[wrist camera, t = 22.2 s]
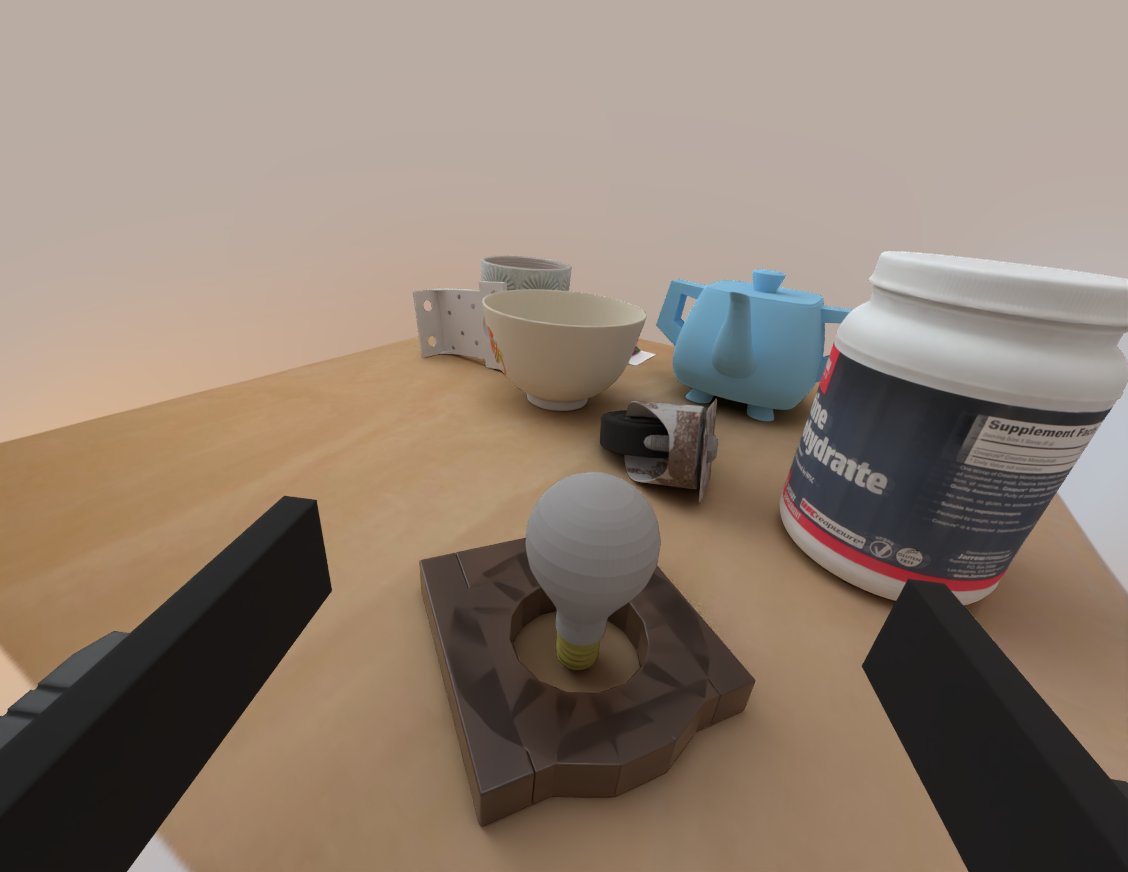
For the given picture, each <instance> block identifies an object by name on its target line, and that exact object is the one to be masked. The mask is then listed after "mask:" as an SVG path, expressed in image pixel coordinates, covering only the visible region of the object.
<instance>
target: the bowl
mask: <svg viewBox="0 0 1128 872" xmlns="http://www.w3.org/2000/svg"><path fill="white" fill-rule="evenodd" d="M482 305H483V311H484V316H485V321H486V326H487V331H488V335H489V339H490V343H491V348H492V351H493V354H494V357H495V360H496V362H497V364H498V366H499V367H500V369H501V370H502V372H503V373H504V374H505V376H506V377H507V378H508V379H509V380H510V381H511V382H512V383H513V384H514V385H515V386H517V387H518V388H519V389H521V390H522V391H524V392H526V393H527V399H528V400H529V401H530V402H531V403H532V404H533V405H535V406H537V407H540V408H543V409H547V410H552V411H572V410H576V409H579V408H581V407H583V406H584V405H585V404H586V403H587V401H588V398H590V397H593V396H595V395H597V394H599V393H601V392H602V391H604V390H605V389H607V388H608V387H610V386H611V385H612V384H613V383H614V382H615V381H616V380H617V379H618V378H619V377H620V376H621V374H622V373H623V371H624V370H625V368H626V366H627V364H628V363H629V360H630V358H631V356H632V354H633V351H634V349H635V346H636V344H637V341H638V338H639V336H640V333H641V330H642V328H643V326H644V323H645V320H646V313H645V312H644V311H643V310H642V309H641V308H639V307H637V306H635V305H633V304H630V303H627V302H624V301H621V300H617V299H613V298H609V297H604V296H599V295H594V294H587V293H580V292H572V291H561V290H539V289H528V290H510V291H502V292H497V293H493V294H490V295H488V296H486V297H485V298H483V300H482Z"/></svg>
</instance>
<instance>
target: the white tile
mask: <svg viewBox="0 0 1128 872" xmlns="http://www.w3.org/2000/svg"><path fill="white" fill-rule="evenodd" d="M654 355H656V354H652V353H648V352H643V351H640V349H639V348H637V347H636V346H635V349H634V351H633V354H632V356H631V358H630V360H629V363H628V364H632V365H636V366H637V365H638V364H640V363H642V362H644V361H645V360H647V359H649V358H650V357H652V356H654Z"/></svg>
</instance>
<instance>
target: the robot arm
mask: <svg viewBox="0 0 1128 872" xmlns="http://www.w3.org/2000/svg"><path fill="white" fill-rule="evenodd" d="M331 591H332V588H331V582H330V576H329V570H328V564H327V558H326V553H325V547H324V541H323V535H322V529H321V523H320V517H319V512H318V506H317V500H312V499H304V498H297V497H289V496H284V497H282V498H281V499H280V500H279V501H278V502H277V503H276V504H275V505H273V506H272V507H271V508H270V509H269V510H268V511H267V512H266V513H264V514H263V515H262V516H261V517H260V518H259V519H258V520H257V521H255V522H254V523H253V524H252V525H251V526H250V527H249V528H248V529H247V530H245V531H244V532H243V533H242V534H241V535H240V536H239V537H238V538H236V539H235V540H234V541H233V542H232V543H231V544H230V545H229V546H227V547H226V548H225V549H224V550H223V551H222V552H221V553H220V554H218V555H217V556H216V557H215V558H214V559H213V560H212V561H211V562H209V563H208V564H207V565H206V566H205V567H204V568H203V569H202V570H201V571H199V572H198V573H197V574H196V575H195V576H194V577H193V578H192V579H190V580H189V581H188V582H187V583H186V584H185V585H184V586H183V587H181V588H180V589H179V590H178V591H177V592H176V593H175V594H174V595H172V596H171V597H170V598H169V599H168V600H167V601H166V602H165V603H164V604H162V605H161V606H160V607H159V608H158V609H157V610H156V611H155V612H153V613H152V614H151V615H150V616H149V617H148V618H147V619H146V620H144V621H143V622H142V623H141V624H140V625H139V626H138V627H137V628H135V629H134V630H133V631H132V632H131V633H124V632H118V631H113V632H111V633H110V634H108V635H106V636H104V637H103V638H101V639H99V640H97V641H96V642H94V643H92V644H90V645H89V646H87V647H85V648H83V649H81V650H80V651H78V652H76V653H74V654H73V655H72V656H71V657H69V658H68V659H67V660H66V661H65V662H63V663H62V664H61V665H60V666H59V667H57V668H56V669H55V670H54V671H53V672H51V673H50V674H49V675H48V676H47V677H45V678H44V679H43V680H42V681H41V682H39V683H38V687H37V688H36V689H35V690H30V691H29V692H28V693H26V694H25V695H24V696H23V697H22V698H20V699H19V700H18V701H17V702H16V703H14V704H13V705H12V706H11V707H10V708H8V712H7V713H6V714H5V715H4V716H0V872H127V871H128V870H129V868H130V867H131V865H132V864H133V863H134V861H135V860H136V859H137V857H138V856H139V854H140V853H141V852H142V850H143V849H144V848H145V846H146V845H147V843H148V842H149V841H150V839H151V838H152V837H153V835H154V834H155V833H156V831H157V830H158V828H159V827H160V826H161V824H162V823H163V822H164V820H165V819H166V817H167V816H168V815H169V813H170V812H171V811H172V809H173V808H174V806H175V805H176V804H177V802H178V801H179V800H180V798H181V797H182V796H183V794H184V793H185V791H186V790H187V789H188V787H189V786H190V785H191V783H192V782H193V780H194V779H195V778H196V776H197V775H198V774H199V772H200V771H201V769H202V768H203V767H204V765H205V764H206V763H207V761H208V760H209V759H210V757H211V756H212V754H213V753H214V752H215V750H216V749H217V748H218V746H219V745H220V743H221V742H222V741H223V739H224V738H225V737H226V735H227V734H228V732H229V731H230V730H231V728H232V727H233V726H234V724H235V723H236V721H237V720H238V719H239V717H240V716H241V715H242V713H243V712H244V711H245V709H246V708H247V706H248V705H249V704H250V702H251V701H252V700H253V698H254V697H255V695H256V694H257V693H258V691H259V690H260V689H261V687H262V686H263V684H264V683H265V682H266V680H267V679H268V678H269V676H270V675H271V674H272V672H273V671H274V669H275V668H276V667H277V665H278V664H279V663H280V661H281V660H282V658H283V657H284V656H285V654H286V653H287V652H288V650H289V649H290V647H291V646H292V645H293V643H294V642H295V641H296V639H297V638H298V637H299V635H300V634H301V632H302V631H303V630H304V628H305V627H306V626H307V624H308V623H309V621H310V620H311V619H312V617H313V616H314V615H315V613H316V612H317V610H318V609H319V608H320V606H321V605H322V604H323V602H324V601H325V599H326V598H327V597H328V595H329V594H330V593H331ZM862 668H863V669H864V671H865V673H866V675H867V677H868V679H869V681H870V683H871V685H872V687H873V689H874V691H875V693H876V694H877V696H878V698H879V700H880V702H881V704H882V706H883V708H884V710H885V712H886V714H887V716H888V718H889V719H890V721H891V723H892V725H893V727H894V729H895V731H896V733H897V735H898V737H899V739H900V741H901V743H902V744H903V746H904V748H905V750H906V752H907V754H908V756H909V758H910V760H911V762H912V764H913V766H914V768H915V769H916V771H917V773H918V775H919V777H920V779H921V781H922V783H923V785H924V787H925V789H926V791H927V793H928V794H929V796H930V798H931V800H932V802H933V804H934V806H935V808H936V810H937V812H938V814H939V816H940V818H941V820H942V821H943V823H944V825H945V827H946V829H947V831H948V833H949V835H950V837H951V839H952V841H953V843H954V845H955V846H956V848H957V850H958V852H959V854H960V856H961V858H962V860H963V862H964V864H965V866H966V868H967V870H968V871H969V872H1128V783H1127V782H1126V781H1119V780H1113V779H1110V778H1109V777H1108V775H1107V774H1106V773H1105V772H1104V771H1103V770H1102V768H1101V767H1100V766H1099V765H1098V764H1097V762H1096V761H1095V760H1094V759H1093V758H1092V757H1091V755H1090V754H1089V753H1088V752H1087V751H1086V750H1085V748H1084V747H1083V746H1082V745H1081V744H1080V742H1079V741H1078V740H1077V739H1076V738H1075V737H1074V735H1073V734H1072V733H1071V732H1070V731H1069V729H1068V728H1067V727H1066V726H1065V725H1064V724H1063V722H1062V721H1061V720H1060V719H1059V718H1058V716H1057V715H1056V714H1055V713H1054V712H1053V711H1052V709H1051V708H1050V707H1049V706H1048V705H1047V703H1046V702H1045V701H1044V700H1043V699H1042V698H1041V696H1040V695H1039V694H1038V693H1037V692H1036V690H1035V689H1034V688H1033V687H1032V686H1031V685H1030V683H1029V682H1028V681H1027V680H1026V679H1025V677H1024V676H1023V675H1022V674H1021V673H1020V672H1019V670H1018V669H1017V668H1016V667H1015V666H1014V664H1013V663H1012V662H1011V661H1010V660H1009V659H1008V657H1007V656H1006V655H1005V654H1004V653H1003V651H1002V650H1001V649H1000V648H999V647H998V646H997V644H996V643H995V642H994V641H993V640H992V638H991V637H990V636H989V635H988V634H987V633H986V631H985V630H984V629H983V628H982V627H981V626H980V624H979V623H978V622H977V621H976V620H975V618H974V617H973V616H972V615H971V614H970V613H969V611H968V610H967V609H966V608H965V607H964V605H963V604H962V603H961V602H960V601H959V600H958V598H957V597H956V596H955V595H954V594H953V592H952V591H951V590H950V589H949V588H948V587H947V585H946V584H945V583H937V582H930V581H922V580H915V579H908V580H907V581H906V583H905V585H904V587H903V589H902V591H901V593H900V595H899V597H898V599H897V600H896V602H895V604H894V606H893V608H892V610H891V612H890V614H889V616H888V617H887V619H886V621H885V623H884V625H883V627H882V629H881V631H880V633H879V634H878V636H877V638H876V640H875V642H874V644H873V646H872V648H871V650H870V651H869V653H868V655H867V657H866V659H865V661H864V663H863V665H862Z"/></svg>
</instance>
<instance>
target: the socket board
mask: <svg viewBox="0 0 1128 872" xmlns="http://www.w3.org/2000/svg"><path fill="white" fill-rule="evenodd" d="M419 564H420V580H421V590H422V594H423V598H424V602H425V606H426V611H427V615H428V619H429V623H430V627H431V631H432V635H433V639H434V643H435V647H436V651H437V655H438V659H439V663H440V667H441V671H442V675H443V679H444V683H445V688H446V692H447V696H448V700H449V704H450V708H451V712H452V716H453V720H454V724H455V728H456V732H457V736H458V740H459V744H460V748H461V752H462V756H463V760H464V765H465V769H466V773H467V777H468V781H469V785H470V789H471V793H472V797H473V801H474V805H475V809H476V813H477V817H478V821H479V824H480V826H483V825H486V824H488V823H490V822H492V821H495V820H497V819H499V818H502V817H504V816H506V815H508V814H511V813H513V812H515V811H517V810H520V809H522V808H524V807H526V806H529V805H530V804H531V803H532V804H534V803H537V802H539V801H541V800H543V799H546V798H548V797H550V796H593V797H613V796H614V797H615V796H617V795H619V794H622V793H624V792H626V791H628V790H630V789H632V788H634V787H636V786H638V785H641V784H643V783H645V782H647V781H649V780H651V779H653V778H655V777H658V776H660V775H662V774H664V773H666V771H668V769H669V768H670V767H671V765H672V764H673V763H674V761H675V760H676V758H677V757H678V756H679V754H680V753H681V752H682V750H683V749H684V747H685V746H686V745H687V743H688V742H689V741H690V739H691V738H692V737H693V735H694V734H695V732H696V731H698V730H701V729H703V728H705V727H707V726H709V725H712V724H714V723H716V722H719V721H721V720H723V719H725V718H728V717H730V716H732V715H734V714H737V713H739V712H741V711H743V710H744V709H745V707H746V704H747V701H748V699H749V696H750V694H751V691H752V689H753V686H754V684H755V679H754V678H753V677H752V676H751V675H750V673H749V672H748V671H747V670H746V669H745V668H744V666H743V665H742V664H741V663H740V662H739V661H738V659H737V658H736V657H735V656H734V655H733V654H732V652H731V651H730V650H729V649H728V648H727V647H726V645H725V644H724V643H723V642H722V641H721V640H720V638H719V637H718V636H717V635H716V634H715V633H714V631H713V630H712V629H711V628H710V627H709V626H708V624H707V623H706V622H705V621H704V620H703V619H702V617H701V616H700V615H699V614H698V613H697V612H696V610H695V609H694V608H693V607H692V606H691V605H690V603H689V602H688V601H687V600H686V599H685V598H684V596H683V595H682V594H681V593H680V592H679V591H678V589H677V588H676V587H675V586H674V585H673V584H672V582H671V581H670V580H669V579H668V578H667V577H666V575H665V574H664V573H663V572H662V571H661V570H660V568H659V567H658V566H656V568H655V570H654V572H653V574H652V576H651V578H650V580H649V582H648V583H647V585H646V586H645V588H644V589H643V590H642V591H641V592H640V593H639V594H638V595H636V596H635V597H634V598H633V599H632V600H631V601H629V602H628V603H627V604H625V605H624V606H622V607H621V608H619V609H618V610H616V611H615V612H614V613H612V614H611V615H610V616H609V617H608V620H610V621H611V622H612V623H614V624H615V625H616V626H618V627H619V628H620V629H622V630H623V631H624V632H625V633H626V634H627V636H628V637H629V639H630V640H631V642H632V643H633V645H634V647H635V648H636V650H637V652H638V657H639V662H640V667H641V668H640V669H639V670H638V671H637V672H636V673H635V674H634V675H633V676H632V677H631V678H630V679H629V680H628V681H627V682H626V683H625V684H622V685H619V686H617V687H614V688H611V689H609V690H606V691H603V692H600V693H573V692H565V691H563V690H560V689H558V688H556V687H553V686H551V685H548V684H546V683H543V682H541V681H539V680H538V679H537V678H536V677H535V676H534V675H533V674H532V673H531V672H530V671H529V670H528V669H527V668H526V667H525V666H524V665H523V664H521V663H520V662H519V660H518V657H517V655H516V652H515V650H514V647H513V645H512V642H513V641H514V639H515V637H516V636H517V634H518V632H519V631H520V629H521V627H522V626H524V625H525V624H527V623H528V622H529V621H531V620H532V619H533V618H535V617H536V616H538V615H540V614H543V613H547V612H550V611H554V610H557V608H556V606H555V605H554V604H553V602H552V601H551V599H550V598H549V597H548V595H547V594H546V593H545V591H544V590H543V589H542V588H541V586H540V584H539V583H538V581H537V579H536V578H535V576H534V574H533V573H532V571H531V568H530V565H529V561H528V556H527V552H526V538H523V539H518V540H513V541H508V542H504V543H499V544H494V545H489V546H484V547H480V548H475V549H470V550H465V551H460V552H457V553H452V554H448V555H443V556H438V557H433V558H428V559H424V560H420V562H419Z"/></svg>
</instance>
